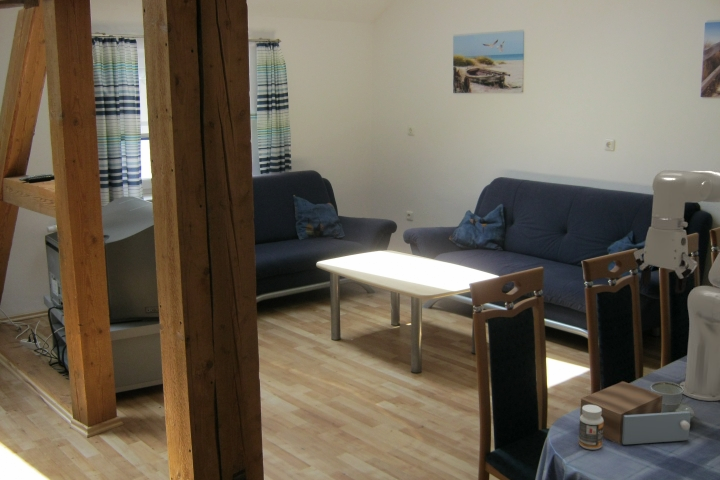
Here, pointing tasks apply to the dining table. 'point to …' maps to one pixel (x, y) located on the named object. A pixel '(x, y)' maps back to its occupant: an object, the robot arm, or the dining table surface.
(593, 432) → the pill bottle
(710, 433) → the dining table surface
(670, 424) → the door
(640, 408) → the cabinet
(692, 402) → the dining table surface
